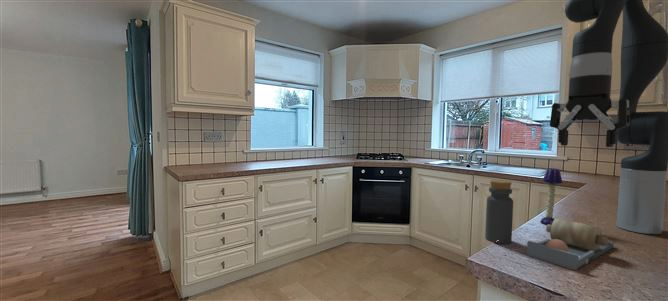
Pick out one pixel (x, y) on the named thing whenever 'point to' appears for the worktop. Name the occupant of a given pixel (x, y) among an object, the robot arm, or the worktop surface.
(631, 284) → the worktop surface
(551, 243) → the ball
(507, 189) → the bottle
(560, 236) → the maple rolling pin
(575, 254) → the grey long tray
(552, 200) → the toy lamp
